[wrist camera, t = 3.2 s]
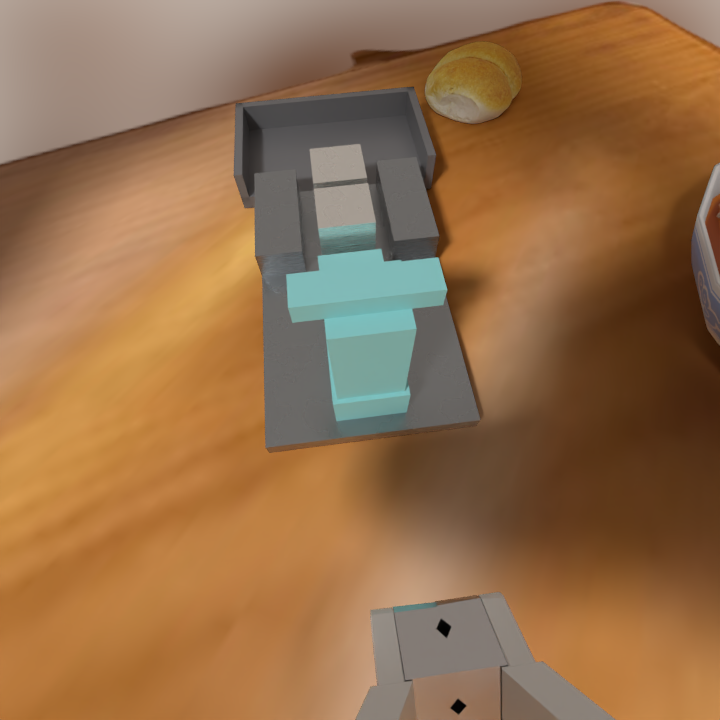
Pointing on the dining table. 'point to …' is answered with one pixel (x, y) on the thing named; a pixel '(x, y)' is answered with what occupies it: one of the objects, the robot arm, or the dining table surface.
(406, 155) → the tray
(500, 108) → the bread roll
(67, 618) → the dining table surface
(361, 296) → the rake tool
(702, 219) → the ramen bowl
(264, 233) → the slot board
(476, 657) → the robot arm
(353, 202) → the beige cube
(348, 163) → the chip
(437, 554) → the dining table surface
